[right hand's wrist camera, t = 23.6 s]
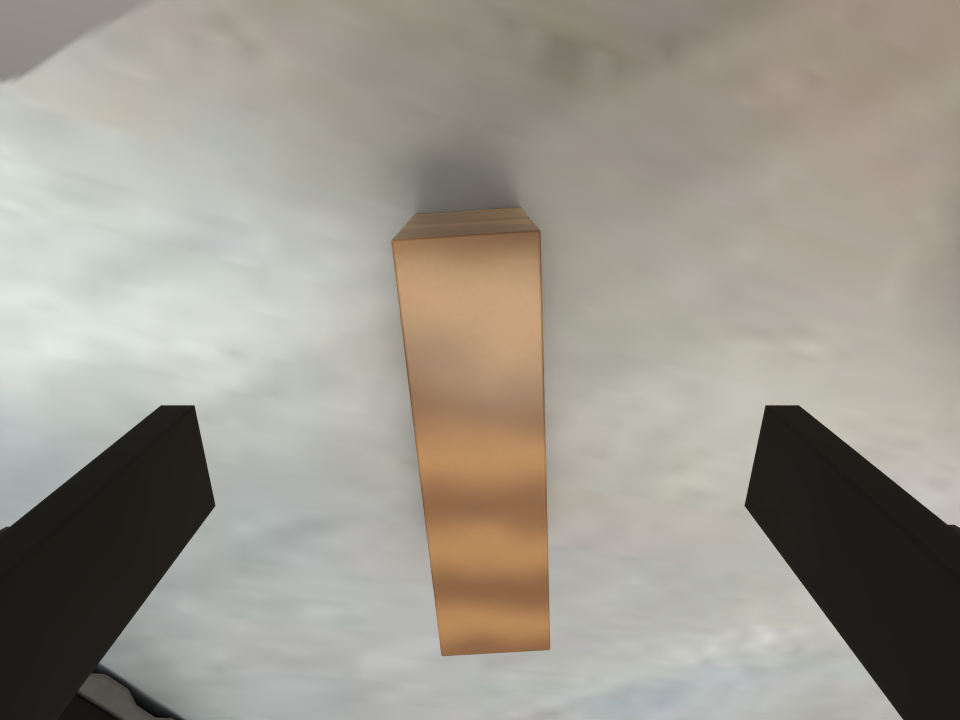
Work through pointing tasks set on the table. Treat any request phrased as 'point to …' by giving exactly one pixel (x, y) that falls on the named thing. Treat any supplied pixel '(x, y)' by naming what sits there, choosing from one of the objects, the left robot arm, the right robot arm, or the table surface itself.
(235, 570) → the table surface
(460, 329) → the box
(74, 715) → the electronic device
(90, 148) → the table surface
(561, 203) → the table surface
